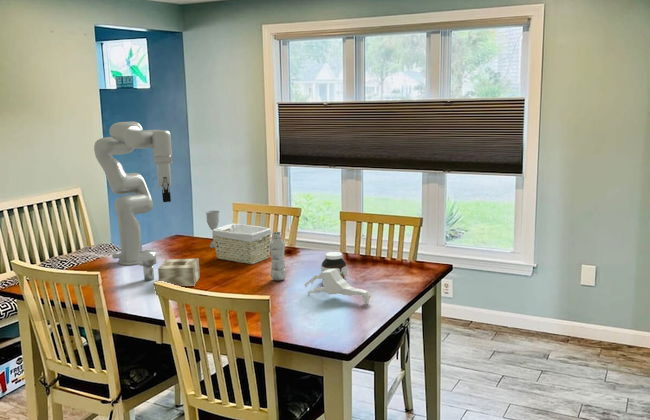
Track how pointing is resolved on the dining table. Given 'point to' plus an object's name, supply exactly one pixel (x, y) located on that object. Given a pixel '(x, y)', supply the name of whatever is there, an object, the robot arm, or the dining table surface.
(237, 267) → the dining table surface
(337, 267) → the spread jar
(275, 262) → the plastic bottle
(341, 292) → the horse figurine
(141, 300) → the dining table surface
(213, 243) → the chalice
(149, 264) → the silver metal cylinder
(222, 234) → the storage basket
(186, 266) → the block
